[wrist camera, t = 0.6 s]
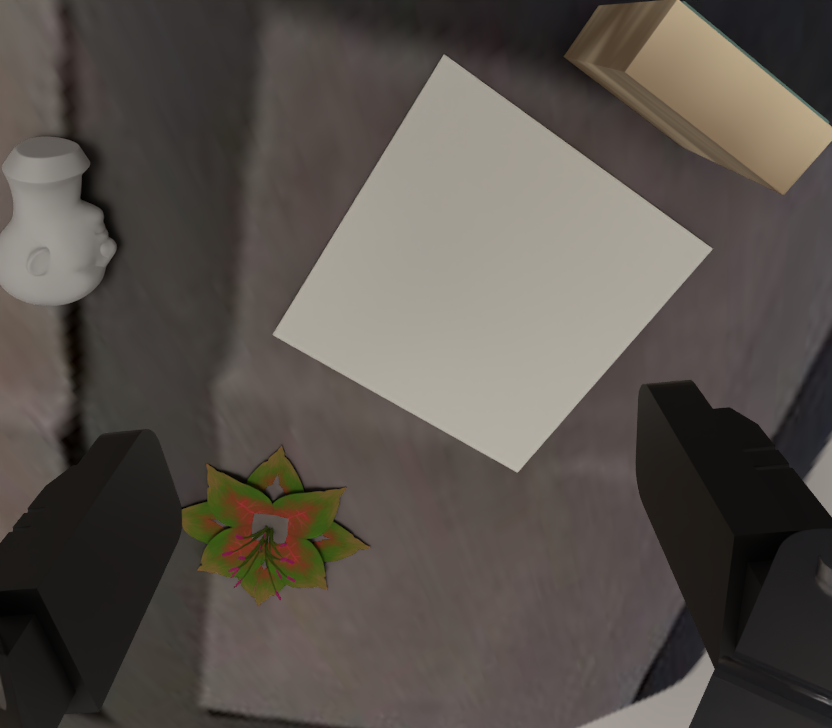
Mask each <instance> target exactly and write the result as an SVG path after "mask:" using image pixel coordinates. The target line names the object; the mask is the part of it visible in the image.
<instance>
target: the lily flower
mask: <svg viewBox="0 0 832 728" xmlns="http://www.w3.org/2000/svg"><path fill="white" fill-rule="evenodd" d="M284 455H285V453H284V451H283V448H282V446H281V447H280V448H279V449H278V452H275V453H274V454H273V455H272V456H271V457H269V459H268V461H267V462H263V463H262V464H261V465H260V466H259V467H258V468H257V469H256V470H255V471H254V472H253V473H252V474H251V475H250V477H249V478H248V480H247V482H246V484H243V483H240V482H239V481H237V480H235V479H233V478H231V477H230V476H228V475H226V474H224V473H222V472H218V471H216V470H215V469H214V468H213V467H211V466H210V465H208V464H207V463H206V465H207V469H208V480H207V483H208V484H209V488H208V489H207V501H208V502H204V503H200V504H197V505H194V506H190V507H187V508H184V509H182V526H183V527H184V531H186V532H187V533H188V534H189V535H190V536H192V537H193V538H195V539H197V540H199V541H201V542H204V543H207V544H208V545H207V546H206V548H205V550H204V552H203V555H202V559H201V563H202V566H200V567H199V568H198V570H197V571H206V572H210V573H216V572H217V573H218V574H219V575H222V576H226V577H238V579H239V581H238V583H237V584H236V586H235V587H237V585H238V584H239V583H240V584H241V585H242V587H243V588H244V589H245V590H246V591H247V593H248V594H249V595H250V596H252V597H254V598H256V600H255V601H256V603H257V605H258V606H259V605H260V604H261V603H262V602H264V601H265V600H267V599H268V598H269V596H270V595H272V596H273V595H275V594H276V595H277V596H278V598H279V600H280V599H281V597H280V596H279V594H278V592H279V591H281V590H282V588H283V587H284V586H285V585H288V586H291V587H295V588H313V587H317V586H319V588H322V589H327V590H328V588H327V586H326V580H325V579H324V577H326V575H325V569H324V564H323V562H332V561H338V560H341V559H343V558H346V557H348V556H350V555H353V554H355V553H356V552H357V551H358V550H359V549H361V550H364V549H368V548H371V547H369V546H367V545H364V543H363V542H361V541H360V540H359V539H357V538H354V537H353V535H352V534H351V533H349V532H348V531H347V530H345V529H344V528H342V527H341V526H339V525H338V524H336V523H335V522H333V520H334V518H335V515H336V512H337V510H338V507H339V504H340V501H339V500H340V496H342V495H343V493H344V491H345V489H346V488H347V487H345V488H341V489H334V490H327V491H325V492H322V491H316V492H309V493H304V490H303V486H302V483H301V481H300V479H299V477H298V475H297V473H296V471H295V470H294V468H293V466H292V465H291V463H290V461H289V460H288V459H287V458H286V457H284ZM277 474H278V477H279V483H280V486H281V487H282V488H283V490H284V493H285V495H286V496H284V497H282V498H279V499H278V500H276V501H275V502H274V503H273V504H272V502H271V501H270V499H269V498H268V497H267V496H266V495H264V494H263V491H264V490H265V489H266V488H267V486H269V485H271V484H273V482H274V480H275V478H276V476H277ZM254 513H258V514H271V515H277V516H280V517H284V518H288V519H289V522H288V535H287V538H286V541H285V543H284V544H277V543H275V542H274V541H273V529H272V528H271V529H270V528H268V527H267V526H266V527H265V528H264V529H263V530H261V531H258V532H257V533H255V534H252V521H253V517H254ZM209 519H217V520H219V521H220V522H221V523H223V524H225V525H227V526H230V527H233V528H229V529H225V528H224V527H222V526H220V525H218V524H217V523H216V522H214V521H212V520H209ZM269 531H270V535H269ZM264 532H265V533H264ZM263 533H264V535H263V537H262V539H261V540H260V541H257V540H256V539H257V538H258V537H260V536H261V535H262V534H263ZM322 534H323V536H324V537H327V538H329V539H324V540H322V541H318V542H313V543H311V542H309V541H308V540H307V539H311V538H315V537H318V536H320V535H322ZM255 536H256V537H255ZM268 536H269V543H268ZM252 537H254V538H253V539H252ZM265 560H266V566H267V568H266V569H263V568H262V564H263V562H264V561H265ZM235 587H234V588H235Z"/></svg>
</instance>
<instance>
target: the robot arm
mask: <svg viewBox="0 0 832 728" xmlns="http://www.w3.org/2000/svg"><path fill="white" fill-rule="evenodd" d="M636 477H637V484H638V489H639V494H640V497H641V500H642V503H643V506H644V508H645V510H646V512H647V515H648V517H649V519H650V522H651V524H652V526H653V528H654V531H655V533H656V535H657V538H658V540H659V542H660V545H661V547H662V549H663V551H664V554H665V556H666V558H667V561H668V563H669V565H670V567H671V570H672V572H673V574H674V577H675V579H676V581H677V583H678V586H679V588H680V590H681V593H682V595H683V597H684V600H685V602H686V604H687V606H688V609H689V611H690V613H691V616H692V618H693V620H694V622H695V625H696V627H697V629H698V632H699V634H700V636H701V639H702V641H703V643H704V645H705V648H706V650H707V652H708V654H709V657H710V659H711V661H712V664H713V666H714V668H715V670H714V672H713V674H712V676H711V679H710V681H709V683H708V686H707V688H706V690H705V692H704V695H703V697H702V699H701V701H700V704H699V706H698V708H697V710H696V713H695V715H694V717H693V719H692V722H691V724H690V726H689V728H832V517H831V516H830V515H829V513H828V512H827V511H826V510H825V508H824V507H823V506H822V505H821V503H820V502H819V501H818V500H817V498H816V497H815V496H814V494H813V493H812V492H811V491H810V490H809V488H808V487H807V486H806V484H805V483H804V482H803V481H802V479H801V478H800V477H799V476H798V474H797V473H796V472H795V471H794V469H793V468H789V463H788V462H787V460H786V459H785V458H784V457H783V455H782V454H781V453H780V452H779V450H775V445H774V444H773V443H772V442H771V440H770V439H769V438H768V437H767V435H766V434H765V433H764V431H763V430H762V429H761V428H760V426H759V425H758V424H756V423H755V422H753V421H751V420H750V419H748V418H746V417H745V416H743V415H741V414H740V413H738V412H736V411H735V410H733V409H731V408H730V407H729V408H718V409H713V408H712V407H711V406H710V404H709V403H708V401H707V400H706V399H705V397H704V396H703V394H702V393H701V392H700V390H699V389H698V387H697V386H696V385H695V383H694V382H693V381H691V380H682V381H671V382H661V383H650V384H643V385H641V387H640V390H639V396H638V418H637V443H636ZM181 529H182V509H181V504H180V500H179V497H178V495H177V492H176V489H175V486H174V483H173V480H172V477H171V474H170V471H169V469H168V466H167V463H166V460H165V457H164V454H163V451H162V448H161V445H160V443H159V440H158V438H157V436H156V435H155V433H154V432H153V431H151V430H149V429H144V430H133V431H122V432H112V433H104V434H102V435H100V436H99V437H98V438H97V440H96V441H95V442H94V444H93V445H92V446H91V448H90V449H89V450H88V452H87V453H86V454H85V456H84V457H83V458H82V460H81V461H80V462H79V464H78V465H73V466H72V467H70V468H69V469H68V470H66V471H65V472H64V473H62V474H61V475H60V476H58V477H57V478H56V479H54V480H53V481H52V482H50V483H49V484H48V485H46V486H45V487H44V489H43V490H42V491H41V492H40V494H39V495H38V496H37V497H36V499H35V500H34V501H33V502H32V504H31V505H30V506H29V508H28V513H24V514H23V515H22V516H21V518H20V519H19V520H18V521H17V523H16V524H15V525H14V526H13V532H9V533H8V534H7V535H6V537H5V538H4V539H3V540H2V542H1V543H0V728H57V727H58V725H59V723H60V722H61V720H62V718H63V716H64V714H74V713H89V712H99V711H100V709H101V707H102V705H103V703H104V700H105V698H106V696H107V694H108V692H109V690H110V687H111V685H112V683H113V681H114V679H115V677H116V674H117V672H118V670H119V668H120V666H121V664H122V661H123V659H124V657H125V655H126V653H127V651H128V648H129V646H130V644H131V642H132V640H133V638H134V636H135V633H136V631H137V629H138V627H139V625H140V623H141V620H142V618H143V616H144V614H145V612H146V610H147V607H148V605H149V603H150V601H151V599H152V597H153V594H154V592H155V590H156V588H157V586H158V584H159V581H160V579H161V577H162V575H163V573H164V571H165V568H166V566H167V564H168V562H169V560H170V558H171V555H172V553H173V551H174V549H175V547H176V545H177V543H178V540H179V538H180V534H181Z"/></svg>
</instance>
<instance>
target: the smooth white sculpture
mask: <svg viewBox="0 0 832 728" xmlns="http://www.w3.org/2000/svg"><path fill="white" fill-rule="evenodd" d="M89 166H90V161H89V159H88V158H87V157H86V155H85V154H84V152H83V151H82V149H81V147H80V146H79V145H78V144H77V143H75V142H73V141H70V140H67V139H63V138H58V137H48V136H43V137H34V138H30V139H27V140H25V141H22V142H20V143H18V144H17V145H16V146H15V147H14V149H13V150H12V152H11V153H10V155H9V156H8V157H7V159H6V160H5V162H4V163H3V165H2V171H3V173H4V175H5V177H6V179H7V181H8V183H9V185H10V188H11V192H12V197H13V216H12V219H11V221H10V223H9V224H8V225H7V226H6V227H5V229H4V230H3V231H2V232H1V234H0V285H1V286H2V287H3V288H4V289H5V290H6V291H7V292H8V293H9V294H10V295H12V296H13V297H15V298H17V299H19V300H21V301H24V302H27V303H30V304H35V305H44V306H56V305H63V304H68V303H71V302H74V301H77V300H79V299H81V298H83V297H85V296H86V295H88V294H89V293H91V292H92V291H93V290H94V289H95V288H96V287H97V286H98V285H99V284H100V282H101V281H102V279H103V277H104V274H105V270H106V266H107V264H108V263H109V261H110V260H111V258H112V257H113V255H114V254H115V252H116V250H117V245H116V243H115V241H114V240H113V239H111V238H110V237H108V231H107V229H106V228H105V224H104V223H103V219H104V214H103V211H102V210H101V209H100V208H99V207H97V206H95V205H93V204H90V203H88V202H85V201H83V200H81V199H80V195H81V183H82V174H83V173H84V172H85V171H86V170H87V169H88V168H89Z"/></svg>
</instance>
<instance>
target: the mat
mask: <svg viewBox="0 0 832 728" xmlns="http://www.w3.org/2000/svg"><path fill="white" fill-rule="evenodd" d="M711 250H712V248H711V247H710V246H708V245H707V244H706V243H704V242H703V241H701V240H700V239H699V238H697V237H696V236H695V235H693V234H692V233H690V232H689V231H688V230H686V229H685V228H684V227H682V226H681V225H679V224H678V223H677V222H675V221H674V220H672V219H671V218H670V217H668V216H667V215H666V214H664V213H663V212H661V211H660V210H659V209H657V208H656V207H654V206H653V205H652V204H650V203H649V202H648V201H646V200H645V199H643V198H642V197H641V196H639V195H638V194H637V193H635V192H634V191H632V190H631V189H630V188H628V187H627V186H625V185H624V184H623V183H621V182H620V181H619V180H617V179H616V178H614V177H613V176H612V175H610V174H609V173H608V172H606V171H605V170H603V169H602V168H601V167H599V166H598V165H596V164H595V163H594V162H592V161H591V160H590V159H588V158H587V157H585V156H584V155H583V154H581V153H580V152H579V151H577V150H576V149H574V148H573V147H572V146H570V145H569V144H567V143H566V142H565V141H563V140H562V139H561V138H559V137H558V136H556V135H555V134H554V133H552V132H551V131H550V130H548V129H547V128H545V127H544V126H543V125H541V124H540V123H538V122H537V121H536V120H534V119H533V118H532V117H530V116H529V115H527V114H526V113H525V112H523V111H522V110H520V109H519V108H518V107H516V106H515V105H514V104H512V103H511V102H509V101H508V100H507V99H505V98H504V97H503V96H501V95H500V94H498V93H497V92H496V91H494V90H493V89H491V88H490V87H489V86H487V85H486V84H485V83H483V82H482V81H480V80H479V79H478V78H476V77H475V76H474V75H472V74H471V73H469V72H468V71H467V70H465V69H464V68H462V67H461V66H460V65H458V64H457V63H456V62H454V61H453V60H451V59H450V58H449V57H447V56H446V55H445V54H444V55H443V56H442V58H441V60H440V61H439V63H438V64H437V66H436V68H435V69H434V71H433V73H432V74H431V76H430V78H429V79H428V81H427V82H426V84H425V86H424V87H423V89H422V91H421V92H420V94H419V96H418V97H417V99H416V100H415V102H414V104H413V105H412V107H411V109H410V110H409V112H408V113H407V115H406V117H405V118H404V120H403V122H402V123H401V125H400V127H399V128H398V130H397V131H396V133H395V135H394V136H393V138H392V140H391V141H390V143H389V145H388V146H387V148H386V149H385V151H384V153H383V154H382V156H381V158H380V159H379V161H378V163H377V164H376V166H375V167H374V169H373V171H372V172H371V174H370V176H369V177H368V179H367V181H366V182H365V184H364V185H363V187H362V189H361V190H360V192H359V194H358V195H357V197H356V199H355V200H354V202H353V203H352V205H351V207H350V208H349V210H348V212H347V213H346V215H345V217H344V218H343V220H342V221H341V223H340V225H339V226H338V228H337V230H336V231H335V233H334V235H333V236H332V238H331V239H330V241H329V243H328V244H327V246H326V248H325V249H324V251H323V253H322V254H321V256H320V257H319V259H318V261H317V262H316V264H315V266H314V267H313V269H312V270H311V272H310V274H309V275H308V277H307V279H306V280H305V282H304V284H303V285H302V287H301V288H300V290H299V292H298V293H297V295H296V297H295V298H294V300H293V302H292V303H291V305H290V306H289V308H288V310H287V311H286V313H285V315H284V316H283V318H282V320H281V321H280V323H279V324H278V326H277V328H276V329H275V331H274V333H273V336H275V337H277V338H279V339H281V340H282V341H284V342H286V343H288V344H289V345H291V346H293V347H295V348H297V349H298V350H300V351H302V352H304V353H306V354H307V355H309V356H311V357H313V358H314V359H316V360H318V361H320V362H322V363H323V364H325V365H327V366H329V367H330V368H332V369H334V370H336V371H338V372H339V373H341V374H343V375H345V376H346V377H348V378H350V379H352V380H354V381H355V382H357V383H359V384H361V385H362V386H364V387H366V388H368V389H370V390H371V391H373V392H375V393H377V394H378V395H380V396H382V397H384V398H386V399H387V400H389V401H391V402H393V403H394V404H396V405H398V406H400V407H402V408H403V409H405V410H407V411H409V412H411V413H412V414H414V415H416V416H418V417H419V418H421V419H423V420H425V421H427V422H428V423H430V424H432V425H434V426H435V427H437V428H439V429H441V430H443V431H444V432H446V433H448V434H450V435H451V436H453V437H455V438H457V439H459V440H460V441H462V442H464V443H466V444H467V445H469V446H471V447H473V448H475V449H476V450H478V451H480V452H482V453H483V454H485V455H487V456H489V457H491V458H492V459H494V460H496V461H498V462H499V463H501V464H503V465H505V466H507V467H508V468H510V469H512V470H514V471H516V472H517V473H518V471H519V470H520V469H521V468H522V467H523V466H524V464H525V463H526V462H527V461H528V460H529V459H530V458H531V456H532V455H533V454H534V453H535V452H536V451H537V450H538V448H539V447H540V446H541V445H542V444H543V443H544V442H545V440H546V439H547V438H548V437H549V436H550V435H551V434H552V432H553V431H554V430H555V429H556V428H557V427H558V426H559V424H560V423H561V422H562V421H563V420H564V419H565V418H566V416H567V415H568V414H569V413H570V412H571V411H572V410H573V408H574V407H575V406H576V405H577V404H578V403H579V402H580V400H581V399H582V398H583V397H584V396H585V395H586V394H587V392H588V391H589V390H590V389H591V388H592V387H593V386H594V384H595V383H596V382H597V381H598V380H599V379H600V377H601V376H602V375H603V374H604V373H605V372H606V371H607V369H608V368H609V367H610V366H611V365H612V364H613V363H614V361H615V360H616V359H617V358H618V357H619V356H620V355H621V353H622V352H623V351H624V350H625V349H626V348H627V347H628V345H629V344H630V343H631V342H632V341H633V340H634V339H635V337H636V336H637V335H638V334H639V333H640V332H641V331H642V329H643V328H644V327H645V326H646V325H647V324H648V323H649V321H650V320H651V319H652V318H653V317H654V316H655V315H656V313H657V312H658V311H659V310H660V309H661V308H662V307H663V305H664V304H665V303H666V302H667V301H668V300H669V298H670V297H671V296H672V295H673V294H674V293H675V292H676V290H677V289H678V288H679V287H680V286H681V285H682V284H683V282H684V281H685V280H686V279H687V278H688V277H689V276H690V274H691V273H692V272H693V271H694V270H695V269H696V268H697V266H698V265H699V264H700V263H701V262H702V261H703V260H704V258H705V257H706V256H707V255H708V254H709V253H710V252H711Z"/></svg>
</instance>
